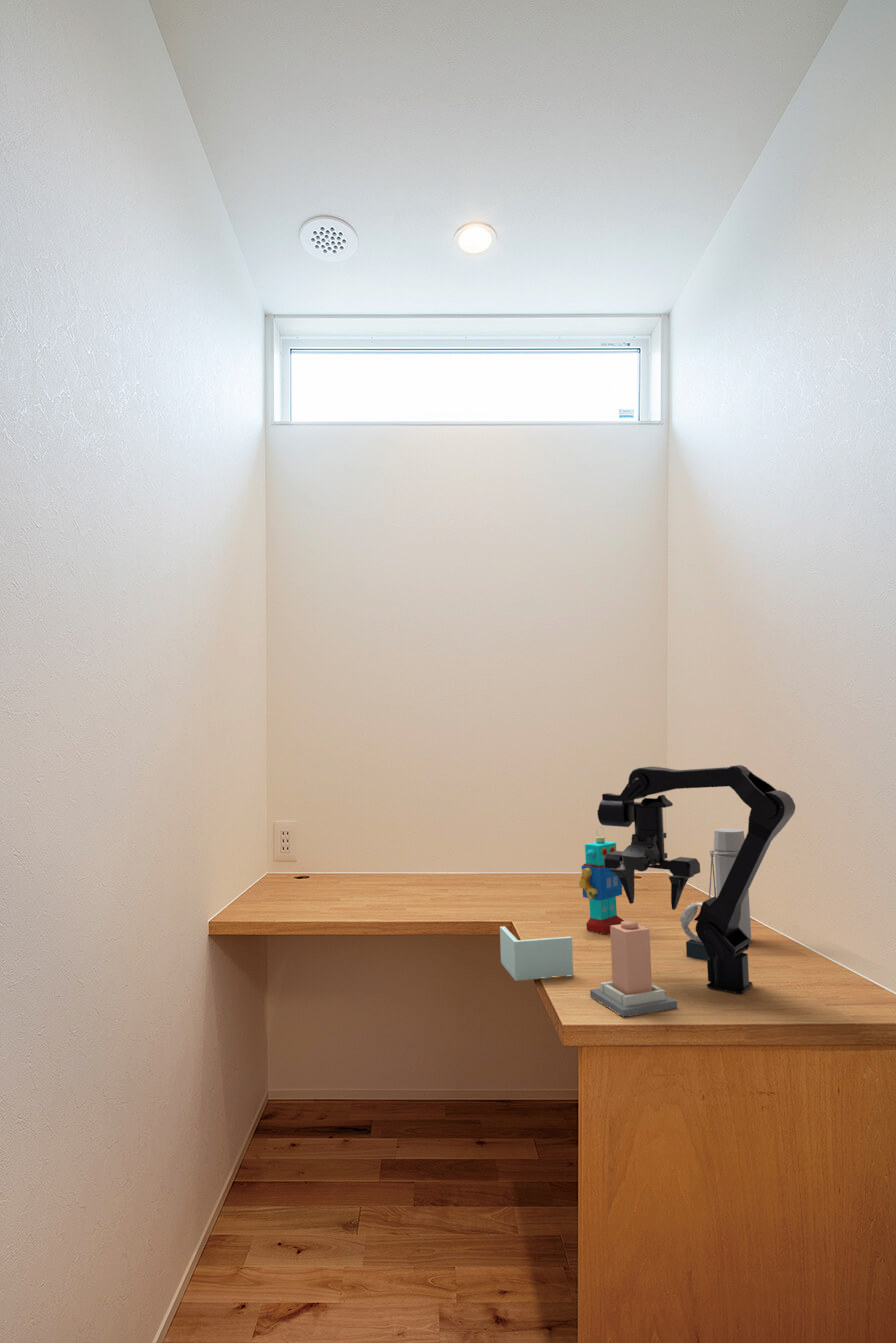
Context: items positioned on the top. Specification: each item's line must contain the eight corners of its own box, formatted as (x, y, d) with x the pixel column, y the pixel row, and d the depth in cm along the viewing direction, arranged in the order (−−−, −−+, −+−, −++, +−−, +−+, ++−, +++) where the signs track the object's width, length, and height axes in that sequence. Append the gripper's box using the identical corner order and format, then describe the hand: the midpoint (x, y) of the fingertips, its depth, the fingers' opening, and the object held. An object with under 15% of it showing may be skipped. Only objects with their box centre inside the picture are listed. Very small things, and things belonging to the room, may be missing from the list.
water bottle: (755, 938, 173) (749, 829, 175) (747, 947, 167) (741, 833, 169) (715, 933, 179) (709, 826, 181) (705, 941, 172) (700, 831, 174)
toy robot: (600, 936, 179) (596, 829, 181) (580, 931, 183) (576, 827, 185) (629, 927, 186) (624, 824, 188) (609, 922, 191) (604, 823, 193)
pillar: (636, 989, 139) (633, 918, 140) (652, 997, 134) (649, 924, 135) (612, 992, 137) (609, 921, 138) (628, 1001, 132) (625, 927, 133)
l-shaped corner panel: (573, 975, 151) (571, 937, 151) (515, 980, 149) (514, 942, 149) (554, 958, 163) (553, 922, 163) (500, 962, 161) (499, 926, 161)
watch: (688, 949, 167) (686, 898, 168) (724, 955, 161) (721, 903, 162) (677, 955, 163) (675, 903, 163) (714, 961, 157) (711, 908, 158)
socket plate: (641, 988, 143) (640, 973, 143) (677, 1008, 132) (676, 992, 132) (590, 996, 139) (589, 981, 139) (623, 1017, 128) (622, 1001, 129)
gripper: (588, 830, 154) (591, 907, 153) (676, 836, 142) (680, 921, 141) (615, 824, 162) (618, 897, 161) (699, 829, 150) (703, 909, 149)
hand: (652, 906), depth 153 cm, fingers open, 9 cm apart
